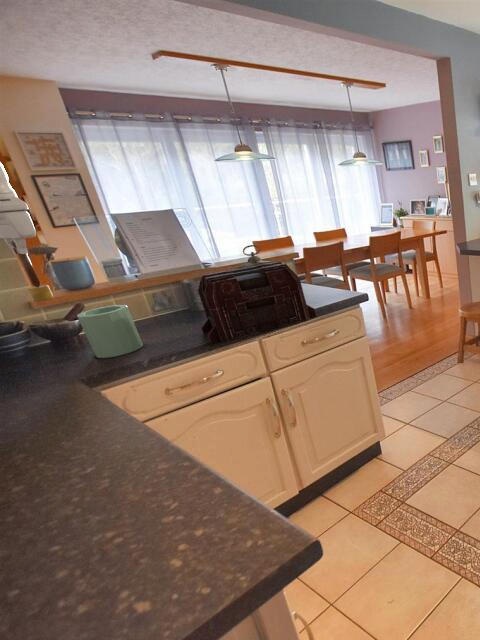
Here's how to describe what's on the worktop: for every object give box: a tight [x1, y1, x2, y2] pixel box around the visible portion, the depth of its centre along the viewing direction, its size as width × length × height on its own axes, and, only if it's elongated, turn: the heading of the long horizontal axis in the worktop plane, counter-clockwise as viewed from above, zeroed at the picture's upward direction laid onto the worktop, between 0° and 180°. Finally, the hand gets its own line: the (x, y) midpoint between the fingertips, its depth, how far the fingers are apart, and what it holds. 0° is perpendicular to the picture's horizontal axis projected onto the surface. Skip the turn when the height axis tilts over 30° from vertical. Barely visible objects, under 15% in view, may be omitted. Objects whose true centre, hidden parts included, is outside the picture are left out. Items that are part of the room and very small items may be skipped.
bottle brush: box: [11, 241, 55, 302], centre depth 130 cm, size 4×4×18 cm
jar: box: [76, 304, 144, 359], centre depth 142 cm, size 12×12×14 cm
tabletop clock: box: [236, 244, 274, 270], centre depth 185 cm, size 14×9×25 cm, turn 147°
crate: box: [197, 261, 317, 344], centre depth 157 cm, size 35×19×21 cm, turn 133°
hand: (21, 253), depth 128 cm, fingers closed on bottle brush, 2 cm apart
